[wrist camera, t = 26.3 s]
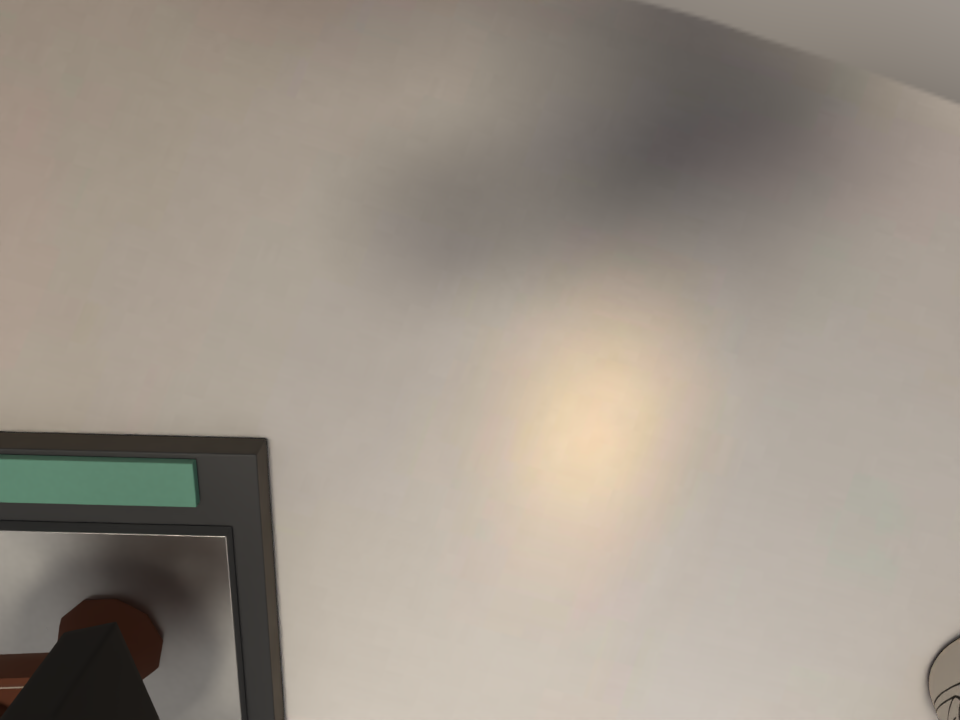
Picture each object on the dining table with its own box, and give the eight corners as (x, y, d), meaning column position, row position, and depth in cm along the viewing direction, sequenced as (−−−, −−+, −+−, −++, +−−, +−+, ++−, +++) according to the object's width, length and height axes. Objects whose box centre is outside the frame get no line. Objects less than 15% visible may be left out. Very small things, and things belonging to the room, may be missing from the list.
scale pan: (-24, 519, 45) (-35, 529, 44) (231, 526, 45) (226, 536, 44) (15, 727, 50) (6, 740, 49) (248, 733, 49) (243, 746, 48)
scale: (-44, 430, 46) (-74, 451, 43) (266, 438, 46) (253, 459, 43) (10, 715, 52) (-14, 748, 49) (284, 722, 52) (274, 756, 49)
